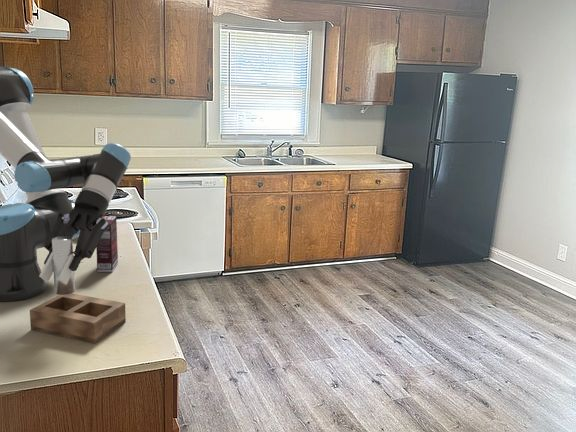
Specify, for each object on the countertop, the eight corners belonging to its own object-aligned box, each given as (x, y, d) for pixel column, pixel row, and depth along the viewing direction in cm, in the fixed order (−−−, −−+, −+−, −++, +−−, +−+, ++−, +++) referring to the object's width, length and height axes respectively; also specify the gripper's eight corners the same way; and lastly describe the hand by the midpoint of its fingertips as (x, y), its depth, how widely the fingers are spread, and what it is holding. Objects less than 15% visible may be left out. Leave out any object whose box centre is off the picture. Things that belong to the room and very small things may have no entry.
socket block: (30, 329, 122) (29, 310, 121) (65, 310, 133) (64, 291, 132) (95, 343, 117) (94, 322, 116) (125, 322, 128) (125, 303, 127)
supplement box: (103, 263, 168) (101, 215, 165) (118, 263, 169) (117, 216, 165) (96, 272, 160) (94, 222, 156) (112, 272, 161) (111, 222, 157)
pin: (50, 293, 123) (47, 240, 120) (63, 286, 127) (60, 235, 124) (66, 295, 121) (63, 242, 118) (79, 289, 126) (76, 237, 123)
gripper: (131, 209, 132) (93, 293, 120) (73, 202, 137) (30, 282, 125) (118, 192, 126) (76, 278, 114) (58, 185, 130) (11, 268, 119)
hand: (52, 280), depth 120 cm, fingers closed on pin, 4 cm apart
